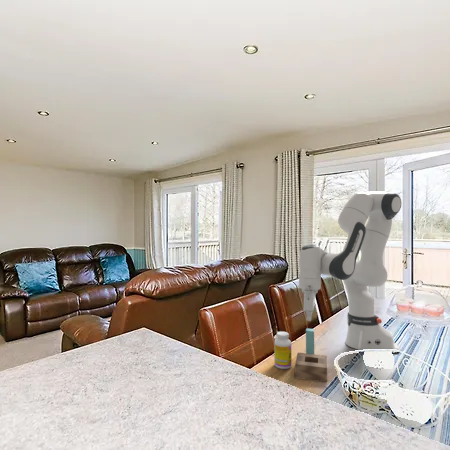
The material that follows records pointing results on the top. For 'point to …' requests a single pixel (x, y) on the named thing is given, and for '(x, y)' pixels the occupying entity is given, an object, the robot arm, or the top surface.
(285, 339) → the supplement bottle
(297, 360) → the socket block
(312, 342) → the teal peg
